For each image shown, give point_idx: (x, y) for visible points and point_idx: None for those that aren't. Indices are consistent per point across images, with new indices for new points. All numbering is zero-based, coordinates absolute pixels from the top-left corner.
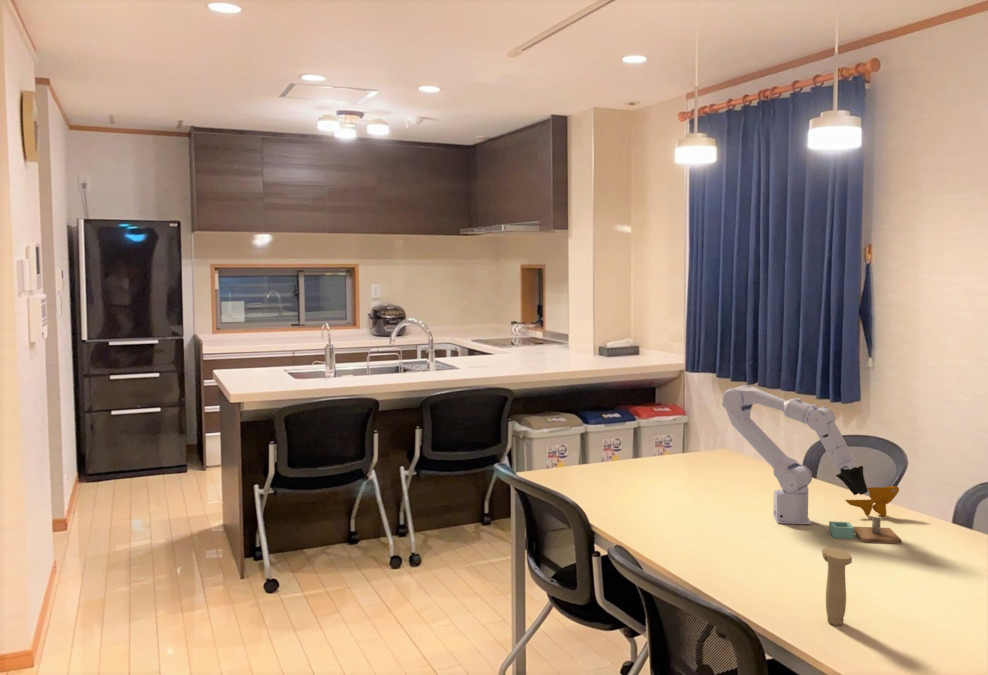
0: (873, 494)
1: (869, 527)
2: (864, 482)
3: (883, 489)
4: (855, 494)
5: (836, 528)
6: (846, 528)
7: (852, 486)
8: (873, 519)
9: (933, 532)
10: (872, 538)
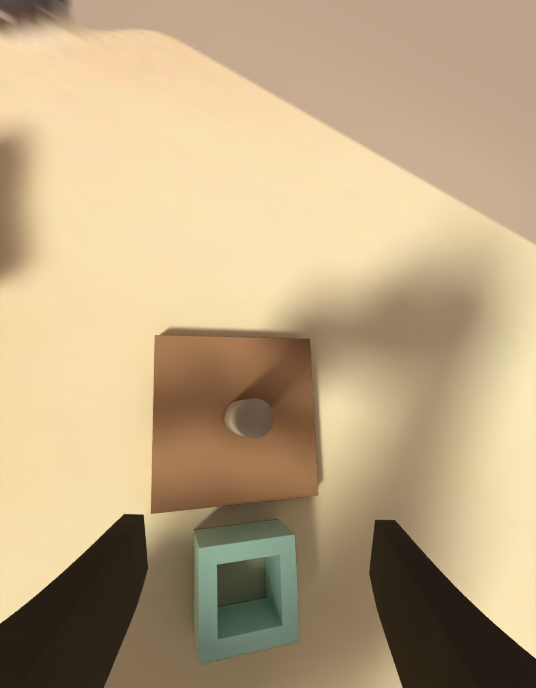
0: None
1: (159, 427)
2: (457, 592)
3: None
4: (144, 565)
5: (296, 623)
6: (294, 571)
7: (112, 631)
8: (264, 435)
9: (149, 170)
10: (311, 449)
